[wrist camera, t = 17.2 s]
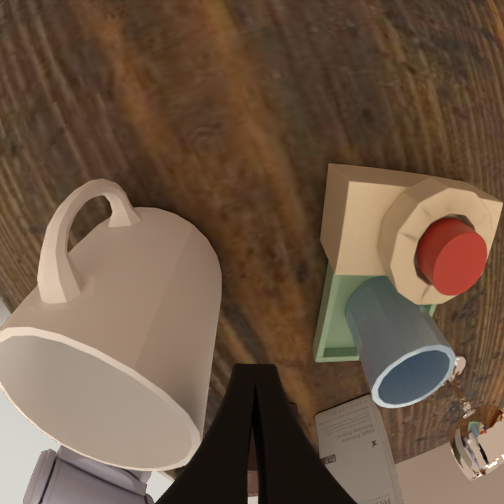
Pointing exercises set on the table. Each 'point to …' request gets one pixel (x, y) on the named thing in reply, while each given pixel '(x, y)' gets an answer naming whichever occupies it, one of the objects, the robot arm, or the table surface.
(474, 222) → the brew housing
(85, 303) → the mug
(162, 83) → the table surface
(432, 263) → the button
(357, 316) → the cup
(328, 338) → the tray
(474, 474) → the wineglass
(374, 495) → the cosmetic box
